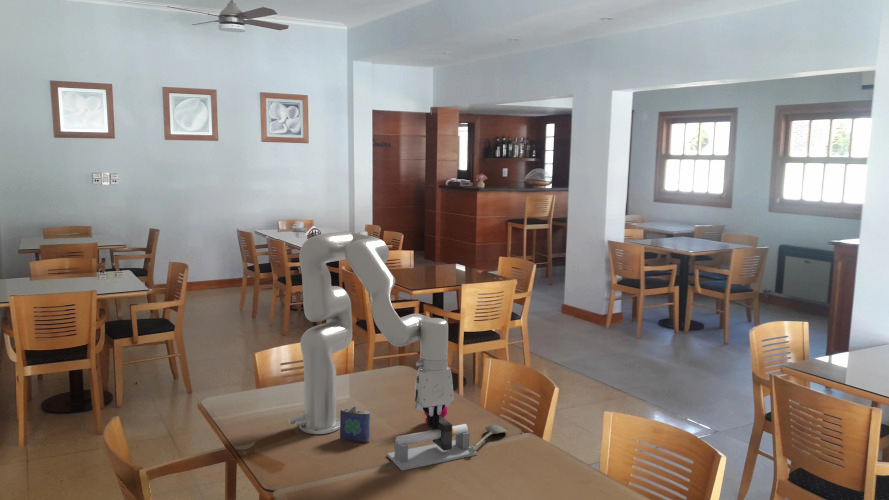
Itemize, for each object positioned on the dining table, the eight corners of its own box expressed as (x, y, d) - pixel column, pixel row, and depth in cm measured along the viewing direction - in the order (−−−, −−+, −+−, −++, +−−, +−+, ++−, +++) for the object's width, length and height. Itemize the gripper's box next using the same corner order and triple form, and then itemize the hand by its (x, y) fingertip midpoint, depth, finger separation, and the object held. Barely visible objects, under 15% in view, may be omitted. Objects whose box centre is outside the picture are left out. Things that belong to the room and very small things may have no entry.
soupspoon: (510, 434, 205) (490, 431, 208) (510, 423, 205) (491, 420, 208) (481, 455, 186) (459, 451, 189) (481, 443, 185) (459, 439, 188)
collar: (443, 450, 185) (444, 426, 184) (432, 441, 191) (432, 417, 191) (451, 448, 186) (452, 424, 186) (440, 439, 193) (440, 416, 192)
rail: (401, 470, 178) (402, 444, 177) (387, 455, 187) (387, 430, 186) (477, 454, 189) (477, 429, 188) (459, 441, 198) (460, 417, 197)
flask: (371, 440, 197) (371, 405, 196) (367, 444, 195) (367, 408, 193) (342, 436, 200) (341, 401, 199) (337, 440, 197) (337, 405, 196)
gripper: (414, 370, 178) (414, 437, 180) (464, 364, 185) (463, 428, 187) (403, 363, 184) (402, 427, 187) (451, 356, 191) (450, 419, 194)
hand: (433, 427), depth 187 cm, fingers closed
